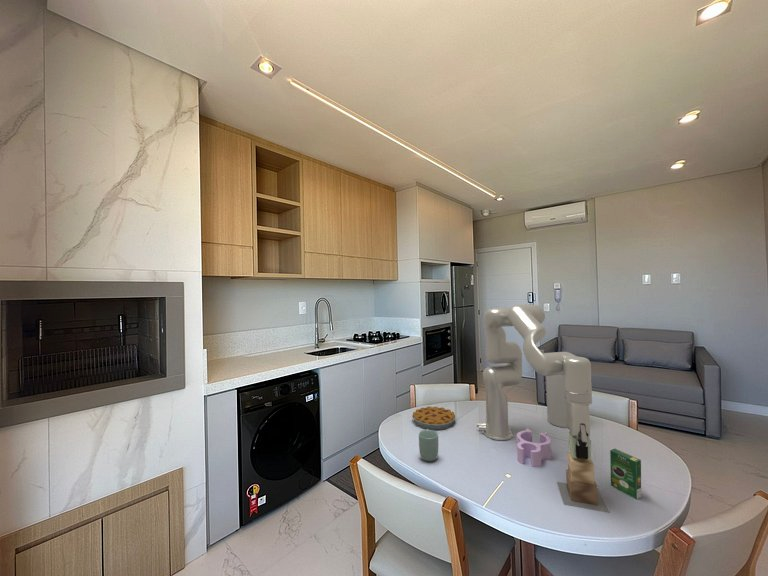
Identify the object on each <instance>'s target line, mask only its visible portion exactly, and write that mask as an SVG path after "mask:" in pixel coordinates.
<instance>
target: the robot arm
mask: <svg viewBox="0 0 768 576" xmlns="http://www.w3.org/2000/svg"><path fill="white" fill-rule="evenodd" d="M483 316H484V317H483V325H484V328H485V332H486V336H485V337H486V344H485V345H486V346H485V347H486V351H485V352H486V353H485V354H486V359H487V361H488V362H489V363H490V364H495V365H491V366H487V367H486V368H484V370H483V371H482V379H483V383H484V389H485V390H484V391H485V408H486V409H485V412H486V414H485V415H486V420H485V422H483V423H482V422H477V423H476V427H477V428H478V429H479V430H483V434H484V436H485V437H487V438H489V439H491V440H496V441H508V440H511V439H512V438H513V432H512V431H511V430H510V429H509V406H508V405H509V404H508V403H509V402H508V401H509V400H508V395H507V394H506V392H505V390H504V389H503V388H504V387H505V388H506V387H511V386H518V385H520V384H521V381H522V378H523V377H522V376H523V355H524V358H525V359H526V361H527V363H528V365H530V367H531V368H532V369H533V370H534V371H535V372H536V373H537V374H538V375H540V376H543V377H546V376H552V375H564V399H565V401H567V410H566V423H567V427H568V428H567V429H568V430H569V431H570V432H571V434H572V435H573V436H575V435H576V442H577V444H575V445H576V457H577V458H581V459H588V444H587V437H589V438H590V436H591V420H590V415H591V414H590V405H592V404H593V392H592V391H593V390H592V365H591V361H590V359H588V358H587V357H583V356H577V355H575V354H573V353H572V352H570V351H569V352H568V351H557V352H556V351H555V352H554V351H553V352H542V351H541V350H540V348H538V346H537V344H538V343H540V342H541V341H542V340H543V339H544V337H545V336H546V331H547V330H546V328H545V326H544V325H542V323H544V321H545V319H546V314H545V311H544V309H543V308H542V307H541V306H539V305H538V304H516V305H513V306H509V307H508V306H507V307H506V306H505V307H493V308H490V309H488V310H486V311H485V313H484V315H483ZM504 327H514V329H515V330H516V331H517V332H518V334H519V335H520V336H521V337H522V339H523V340H524V341H523V345H522V349H523V352H522V349H521V346H520V345H519V344H518V343H516V342H514V341H507V334H506V332H505V330H504ZM498 364H499V365H498ZM500 364H501V365H500ZM502 364H504V365H502ZM569 431H568V432H569ZM578 433H581V435H578ZM579 437H581V439H580V440H579Z"/></svg>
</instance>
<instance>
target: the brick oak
mask: <svg viewBox="0 0 768 576" xmlns="http://www.w3.org/2000/svg"><path fill="white" fill-rule="evenodd" d="M566 455H567V469H568V472H569V474H570V477H571V479H572V481H577V482H583V483H589V484H595V483H596V481H595V464H594V462H593V460H592V459H591V460H587V459H580V458H573V457H572V455H571V453H570V451H567V453H566ZM594 481H595V482H594Z"/></svg>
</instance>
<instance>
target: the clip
mask: <svg viewBox="0 0 768 576" xmlns="http://www.w3.org/2000/svg"><path fill="white" fill-rule="evenodd" d="M532 437H533V435H532V430H531V429H530V428H526V429H525V430H521V431H518V432H517V433H516V447H517V448H516V449H517V450H516V453H517V455H516V456H517V457H516V458H517V459H516V460H517V461H518V463H520V464H521V465H524V464H525V458H529V459H530V467H531V468H538V467H541V465H542V461H551V459H552V446H551V445H552V440H551V438H550V437H549V436H548V433H547V432H540V433H539V442H533V441H532V440H533V438H532Z"/></svg>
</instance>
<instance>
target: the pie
mask: <svg viewBox="0 0 768 576" xmlns="http://www.w3.org/2000/svg"><path fill="white" fill-rule="evenodd" d="M411 416H412V418H413V421H414V423H415V424H416V425H417V426H419V427H421V428H423V429H426V430H433V431H439V430H445V429H447V428H450V427H451V426H452V425H453V423H454V421H455V420H456V414H455V412H454V411H451V409H446V408H444V407H442V406H441V407H438V406H426V407H420V408H418V409H416V410H415V411H413V413H412V415H411Z"/></svg>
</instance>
